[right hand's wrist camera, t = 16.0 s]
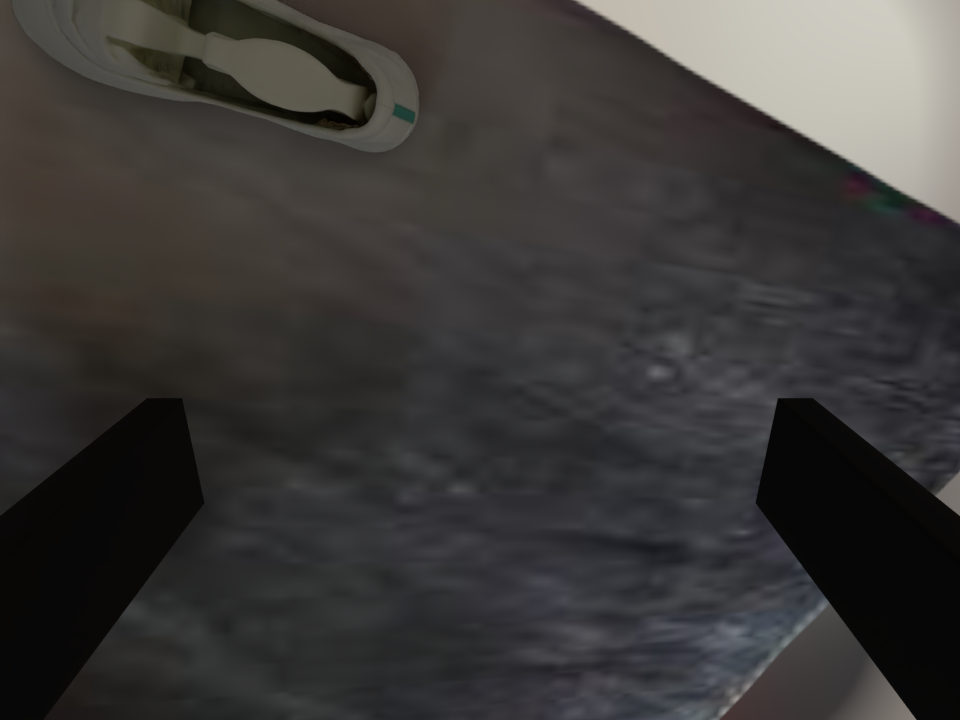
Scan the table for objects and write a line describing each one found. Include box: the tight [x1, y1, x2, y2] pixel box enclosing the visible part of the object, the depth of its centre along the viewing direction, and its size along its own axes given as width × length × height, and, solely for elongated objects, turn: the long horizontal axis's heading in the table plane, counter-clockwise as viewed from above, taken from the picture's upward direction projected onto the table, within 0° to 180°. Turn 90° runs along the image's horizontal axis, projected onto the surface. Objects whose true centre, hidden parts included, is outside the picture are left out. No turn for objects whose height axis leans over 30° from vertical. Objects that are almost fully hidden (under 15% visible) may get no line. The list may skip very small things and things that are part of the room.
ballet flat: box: [12, 0, 419, 152], centre depth 32 cm, size 8×24×8 cm, turn 73°
